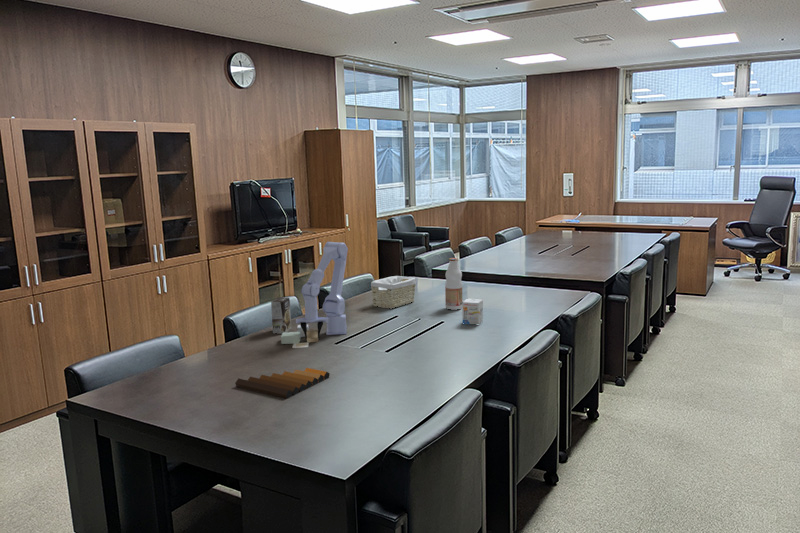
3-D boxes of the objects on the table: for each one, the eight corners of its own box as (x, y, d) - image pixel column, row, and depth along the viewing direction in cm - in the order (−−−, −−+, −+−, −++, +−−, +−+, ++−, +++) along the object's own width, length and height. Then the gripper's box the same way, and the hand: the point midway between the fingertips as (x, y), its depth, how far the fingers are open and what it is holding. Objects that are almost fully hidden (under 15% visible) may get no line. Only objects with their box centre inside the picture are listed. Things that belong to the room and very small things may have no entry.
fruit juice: (448, 311, 337) (447, 260, 333) (443, 307, 346) (442, 257, 342) (464, 309, 339) (464, 259, 335) (459, 305, 348) (459, 256, 344)
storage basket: (395, 298, 370) (395, 274, 368) (417, 302, 361) (417, 277, 358) (370, 307, 352) (369, 281, 349) (392, 310, 342) (391, 284, 340)
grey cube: (308, 334, 299) (308, 324, 298) (308, 337, 294) (307, 327, 293) (298, 334, 299) (297, 324, 298) (297, 337, 294) (297, 327, 293)
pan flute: (235, 388, 231) (286, 400, 218) (234, 379, 230) (285, 391, 217) (281, 368, 252) (329, 378, 239) (280, 360, 251) (329, 370, 238)
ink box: (462, 324, 309) (461, 301, 307) (466, 320, 317) (466, 298, 315) (478, 325, 306) (478, 302, 304) (483, 321, 314) (483, 299, 312)
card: (309, 343, 284) (309, 342, 284) (308, 347, 277) (308, 346, 277) (293, 343, 284) (293, 342, 284) (292, 348, 277) (292, 347, 277)
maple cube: (318, 339, 291) (317, 328, 290) (317, 342, 286) (317, 331, 285) (307, 339, 290) (307, 329, 289) (307, 342, 285) (306, 332, 284)
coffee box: (284, 334, 300) (283, 301, 298) (272, 333, 302) (270, 301, 299) (291, 329, 309) (290, 297, 306) (279, 328, 310) (277, 297, 308)
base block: (300, 339, 291) (300, 331, 291) (299, 343, 283) (298, 335, 283) (283, 339, 291) (282, 332, 290) (281, 344, 283) (281, 336, 282)
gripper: (294, 312, 281) (296, 340, 283) (326, 310, 282) (328, 339, 284) (295, 308, 288) (297, 336, 290) (327, 307, 289) (328, 335, 291)
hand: (312, 337), depth 288 cm, fingers closed on maple cube, 5 cm apart
